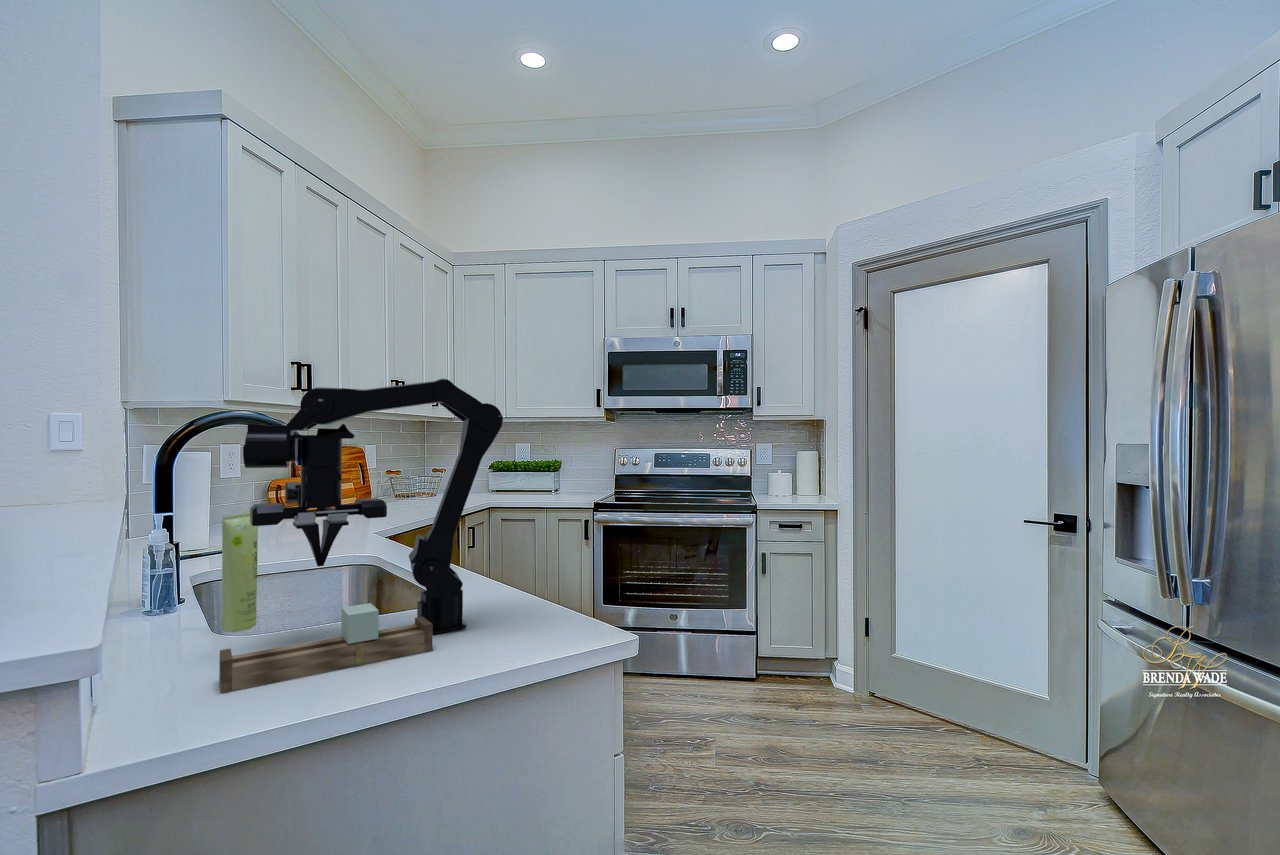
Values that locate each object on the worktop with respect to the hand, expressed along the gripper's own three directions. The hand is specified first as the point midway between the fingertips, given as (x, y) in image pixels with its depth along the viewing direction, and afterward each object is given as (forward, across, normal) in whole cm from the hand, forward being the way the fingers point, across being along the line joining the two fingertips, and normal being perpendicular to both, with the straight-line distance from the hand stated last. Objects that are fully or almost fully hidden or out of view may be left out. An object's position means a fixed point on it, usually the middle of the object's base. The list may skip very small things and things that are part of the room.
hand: (320, 565), depth 96 cm
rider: (+10, -4, +12) cm, 16 cm away
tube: (+12, +10, -16) cm, 22 cm away
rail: (+12, 0, +12) cm, 17 cm away
